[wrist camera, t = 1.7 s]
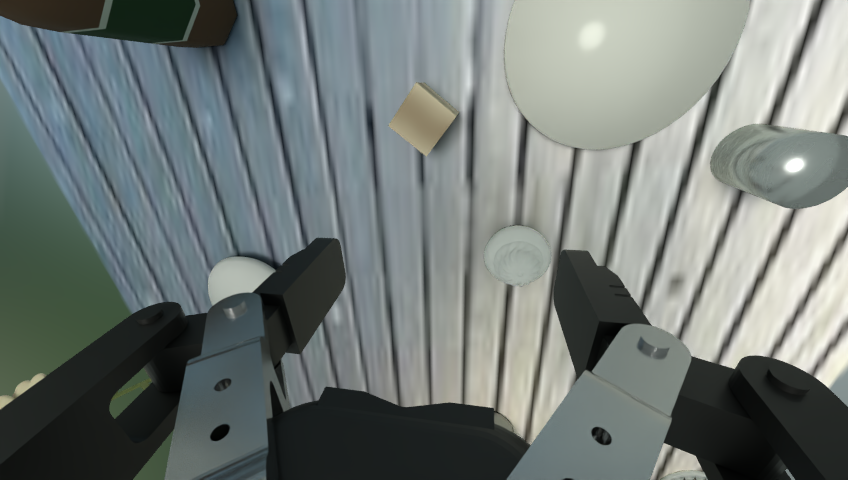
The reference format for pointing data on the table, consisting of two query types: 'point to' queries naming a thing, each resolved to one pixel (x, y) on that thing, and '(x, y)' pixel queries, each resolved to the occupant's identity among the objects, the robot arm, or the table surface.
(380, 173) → the table surface
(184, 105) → the table surface
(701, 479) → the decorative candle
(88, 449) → the robot arm
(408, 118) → the brass block
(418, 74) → the table surface
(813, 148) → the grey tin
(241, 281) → the flower in vase
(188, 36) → the beer bottle
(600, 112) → the white bowl
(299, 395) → the table surface
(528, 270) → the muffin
